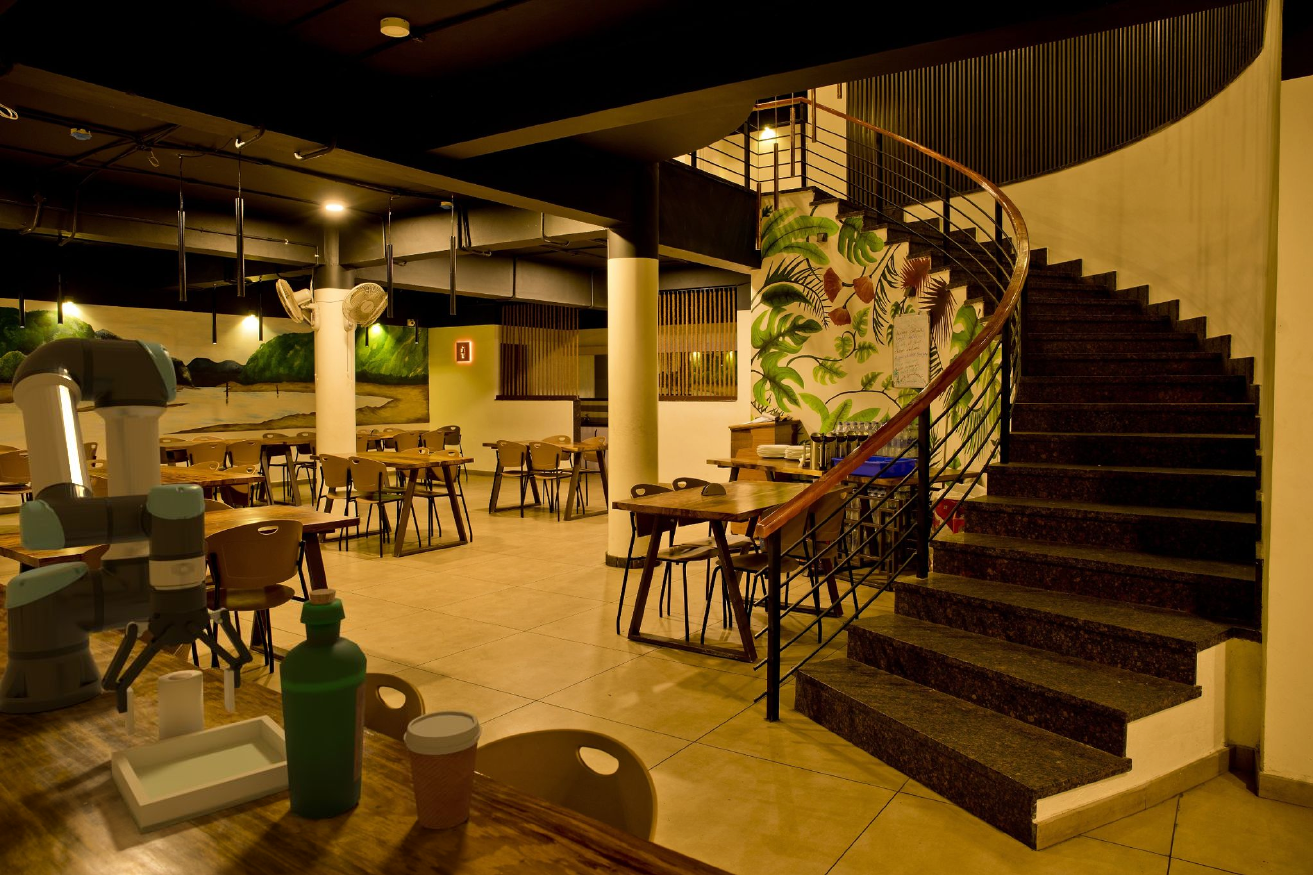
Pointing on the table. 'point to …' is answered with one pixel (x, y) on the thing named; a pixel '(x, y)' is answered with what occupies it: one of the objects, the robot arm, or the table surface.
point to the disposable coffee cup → (443, 766)
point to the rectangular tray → (201, 772)
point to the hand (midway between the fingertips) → (181, 720)
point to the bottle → (323, 712)
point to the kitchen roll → (180, 703)
